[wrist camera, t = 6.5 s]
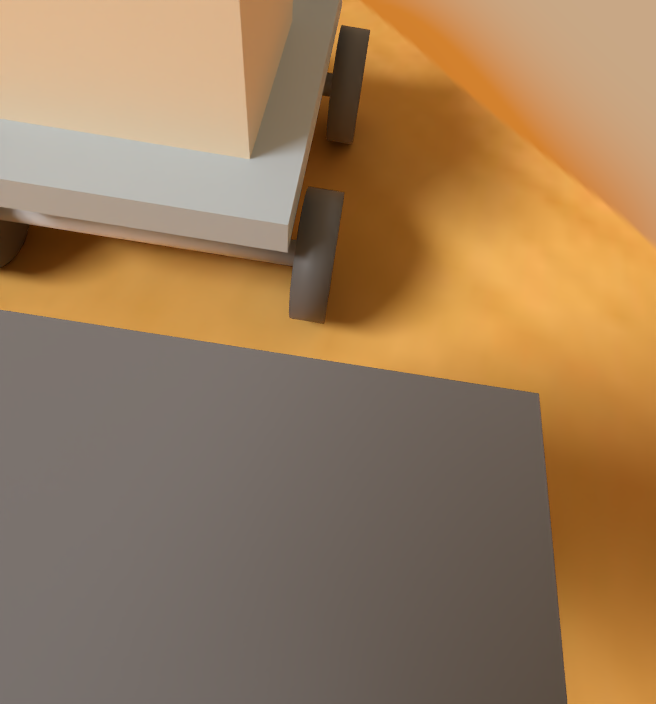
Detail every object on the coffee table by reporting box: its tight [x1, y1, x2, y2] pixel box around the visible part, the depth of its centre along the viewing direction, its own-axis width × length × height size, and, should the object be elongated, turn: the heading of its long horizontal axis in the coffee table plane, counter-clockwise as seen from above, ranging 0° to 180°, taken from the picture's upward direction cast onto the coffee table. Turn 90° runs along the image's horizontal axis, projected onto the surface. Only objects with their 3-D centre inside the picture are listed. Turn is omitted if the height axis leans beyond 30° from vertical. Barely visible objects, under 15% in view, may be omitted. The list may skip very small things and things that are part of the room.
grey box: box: [0, 310, 567, 704], centre depth 8 cm, size 9×5×12 cm, turn 173°
